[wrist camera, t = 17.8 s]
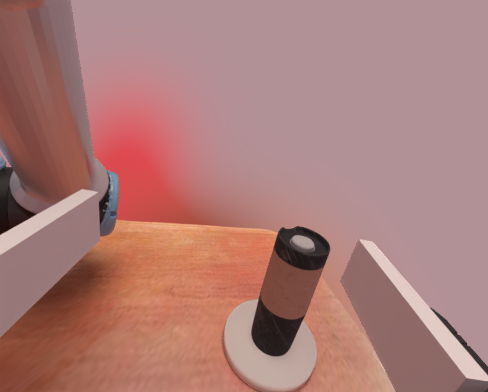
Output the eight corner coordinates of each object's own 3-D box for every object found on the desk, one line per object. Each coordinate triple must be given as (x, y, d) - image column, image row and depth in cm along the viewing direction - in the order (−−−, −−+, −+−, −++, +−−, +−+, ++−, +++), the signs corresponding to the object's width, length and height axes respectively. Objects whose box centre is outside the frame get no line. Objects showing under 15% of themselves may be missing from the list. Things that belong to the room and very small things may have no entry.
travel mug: (287, 367, 37) (330, 263, 30) (242, 344, 40) (271, 241, 32) (296, 329, 44) (332, 236, 37) (257, 310, 46) (284, 219, 39)
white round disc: (207, 324, 44) (208, 316, 43) (272, 296, 53) (274, 289, 52) (260, 419, 32) (263, 411, 32) (332, 363, 42) (336, 356, 41)
